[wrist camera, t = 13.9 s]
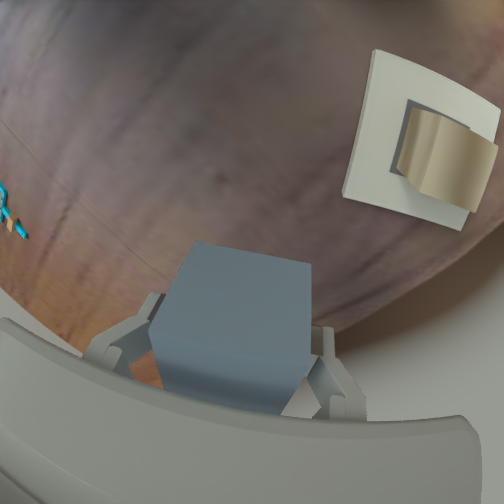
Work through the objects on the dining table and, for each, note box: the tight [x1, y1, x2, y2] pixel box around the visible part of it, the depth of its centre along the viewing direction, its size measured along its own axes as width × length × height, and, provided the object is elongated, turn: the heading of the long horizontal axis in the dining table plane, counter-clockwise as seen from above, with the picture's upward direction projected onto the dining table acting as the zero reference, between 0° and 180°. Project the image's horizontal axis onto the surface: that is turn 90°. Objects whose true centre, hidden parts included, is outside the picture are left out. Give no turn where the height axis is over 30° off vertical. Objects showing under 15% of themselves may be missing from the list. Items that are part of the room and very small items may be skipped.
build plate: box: [342, 49, 501, 231], centre depth 17 cm, size 12×12×1 cm
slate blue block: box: [148, 241, 311, 415], centre depth 11 cm, size 5×5×5 cm
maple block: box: [396, 107, 499, 213], centre depth 15 cm, size 5×5×5 cm
